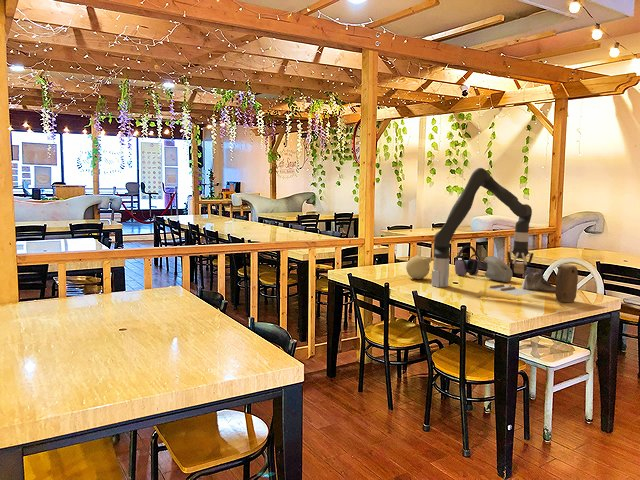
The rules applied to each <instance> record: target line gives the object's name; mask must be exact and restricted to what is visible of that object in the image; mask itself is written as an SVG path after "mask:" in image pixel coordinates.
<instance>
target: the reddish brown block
mask: <svg viewBox="0 0 640 480" xmlns="http://www.w3.org/2000/svg"><path fill="white" fill-rule="evenodd" d="M524 264H525V263H524V261H523V262H521V261H515V264H514V270H513V273H514V274H519V275H520V274H521V275H524V273H525V271H524Z"/></svg>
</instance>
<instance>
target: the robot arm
mask: <svg viewBox="0 0 640 480" xmlns="http://www.w3.org/2000/svg"><path fill="white" fill-rule="evenodd" d="M480 187H482V188H483V189H486V190H487V191H489V192H491V193H492V194H493V195H494V196H495V197H496V198H497V199H498V200H499V201H500V202H501V203H503V204H504V205H505V206H506V207H508V208H509V210H510V211H511V212H512V213H513V214H514V215H515V216H517V217H518V221H516V223H515V226H514V234H513V235H514V237H513V249H512V250H510V251H507V257H508V262H509V263H511V270H512V271H514V264H515V262H517V259H521V260H523V262H524V263H525V264H524V272H526V271H527V270H528V265H530V264H531V263H532V260H533V257H534V253H533V252H530V251H529V241H530V239H529V238H530V235H529V232H530V231H529V230H530V223H531V220H532V215H533V209H532V206H531V205H529V204H527V203H524V204H523V203H521V201H520V200H519V198H518V197H517V196H516V195H514V193H513V192H511V191H510V190H508V189H507V188H505V187H504V186H502V185H501V184H500V183H498V182H497V181H496V180H495V178H493V177H492V175H491V174H490V173H489V171H488V170H486V168H483V167H478V168H475V170H473V172H472V173H471V174H470V177H469V179H468V181H467V183H466V185H465V187H464V189H463V190H462V191H461V194H460V195H459V197H458V198H457V200H456V201H455V203H454V204H453V206H452V208H451V210H450V212H449V214H448V216H447V219H446V221H445V223H444V224H443V226H442V227H441V229H440V230H438V231H437V232H436V233H435V234H434V237H433V266H432V268H433V269H432V270H431V284H430V285H432V287H435V286H436V288H447V287H449V283H450V282H449V277H450V247H451V241H452V238H453V236H454V234H455V232H456V230H457V229H458V227H459V226H460V225H461V224H462V223H463V221H464V220H465V218H466V217H467V215H468V214H469V211H470V210H471V209H472V208H473V207H472V206H473V204H474V200H475V196H476V194H477V192H478V190H479V189H480ZM512 254H513V257H514V258H513V260H512ZM527 256H528V257H529V259H528V261H527Z"/></svg>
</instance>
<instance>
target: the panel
mask: <svg viewBox="0 0 640 480" xmlns="http://www.w3.org/2000/svg"><path fill="white" fill-rule="evenodd" d="M486 289H487V290H492V291H497V292H501V293H504V294H505V293H506V294H509V295H513V296H522V295H523V296H524V295H529V294H535V293H536V292H537V291H532V290H524V289H522V288H518V287H516V286H512V284H511V283H509V284H508V285H505V284H504V283H501V284H495V285H494V284H493V285H490V286H489V287H486Z"/></svg>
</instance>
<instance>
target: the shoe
mask: <svg viewBox="0 0 640 480" xmlns="http://www.w3.org/2000/svg"><path fill="white" fill-rule="evenodd" d="M555 287H556V286H554V285H553V284H552V283H550V282H549V280H546V279H545V275H543V274H542V272H540V271H538V272H531V271H530V272H527V275H525V277H524V279H523V282H522V285H521V289H522V290H527V291H531V292H543V293H551V294H555Z"/></svg>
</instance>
